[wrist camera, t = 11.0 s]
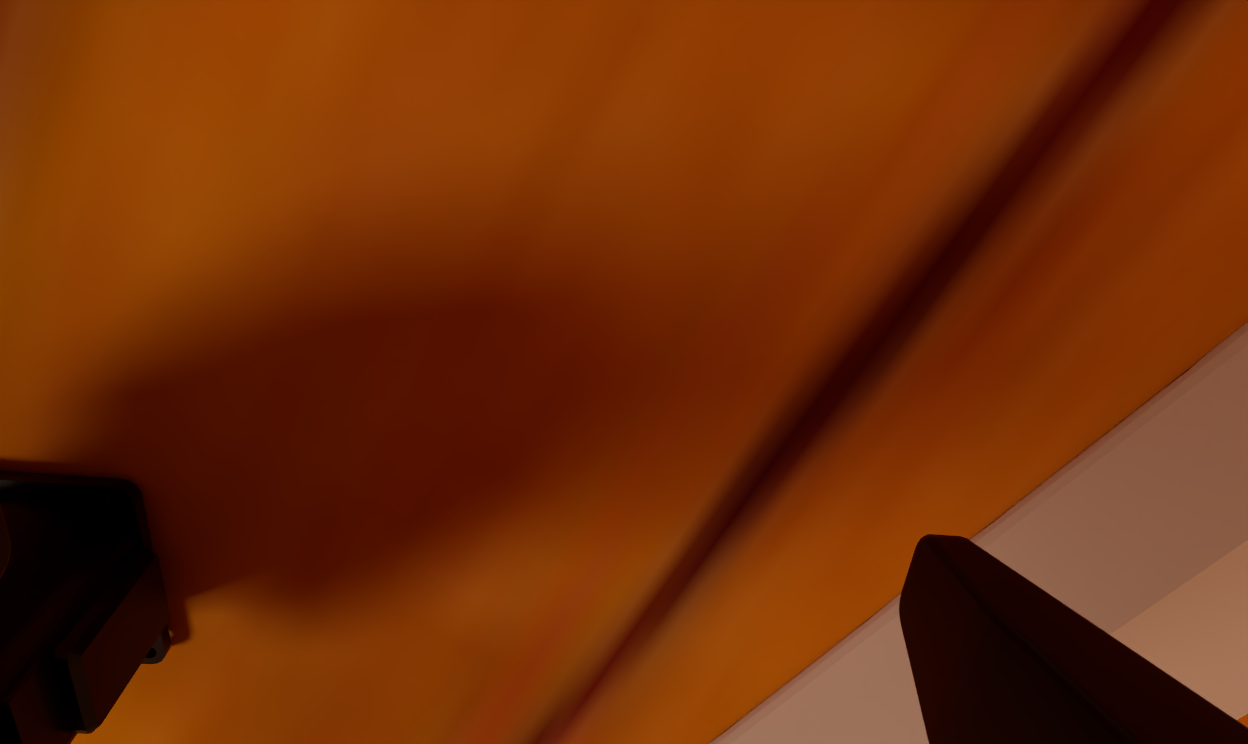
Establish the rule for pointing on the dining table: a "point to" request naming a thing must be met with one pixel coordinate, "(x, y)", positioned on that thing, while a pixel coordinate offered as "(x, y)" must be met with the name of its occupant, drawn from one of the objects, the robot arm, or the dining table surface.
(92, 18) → the dining table surface
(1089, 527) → the decorative molding
